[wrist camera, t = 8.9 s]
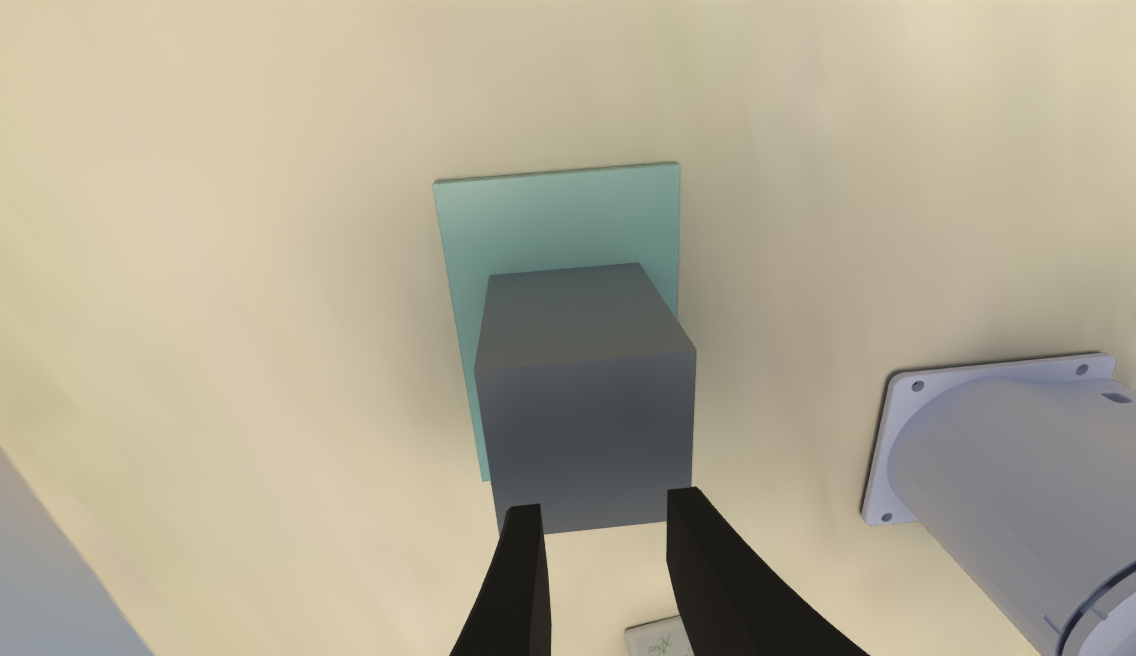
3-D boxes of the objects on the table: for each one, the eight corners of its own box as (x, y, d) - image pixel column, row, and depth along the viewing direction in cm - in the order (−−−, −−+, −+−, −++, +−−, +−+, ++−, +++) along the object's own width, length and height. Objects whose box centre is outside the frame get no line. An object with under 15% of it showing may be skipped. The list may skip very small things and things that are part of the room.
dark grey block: (638, 262, 19) (696, 350, 13) (640, 390, 21) (689, 518, 15) (489, 275, 19) (473, 370, 12) (506, 403, 21) (500, 539, 15)
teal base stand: (675, 161, 18) (743, 197, 13) (670, 452, 23) (718, 568, 18) (435, 181, 18) (396, 226, 12) (483, 471, 23) (471, 597, 17)
